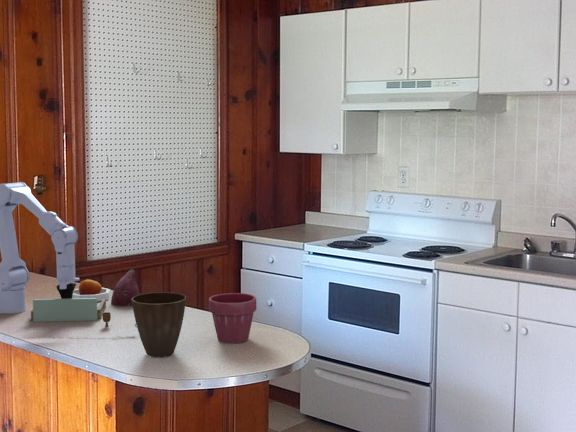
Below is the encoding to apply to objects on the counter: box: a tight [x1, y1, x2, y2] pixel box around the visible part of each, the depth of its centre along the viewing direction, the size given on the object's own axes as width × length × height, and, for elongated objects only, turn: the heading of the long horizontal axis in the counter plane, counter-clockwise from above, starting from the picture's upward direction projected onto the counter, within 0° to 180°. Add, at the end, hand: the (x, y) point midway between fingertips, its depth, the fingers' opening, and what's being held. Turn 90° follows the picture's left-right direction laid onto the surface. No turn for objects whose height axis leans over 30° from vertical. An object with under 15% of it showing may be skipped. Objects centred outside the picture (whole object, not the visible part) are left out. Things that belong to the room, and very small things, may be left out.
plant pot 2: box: [208, 292, 258, 344], centre depth 233 cm, size 14×14×13 cm
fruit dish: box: [72, 287, 111, 303], centre depth 287 cm, size 14×14×2 cm
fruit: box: [78, 278, 103, 295], centre depth 287 cm, size 8×8×8 cm
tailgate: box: [32, 298, 98, 323], centre depth 250 cm, size 20×1×7 cm, turn 97°
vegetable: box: [110, 268, 141, 307], centre depth 275 cm, size 10×10×15 cm
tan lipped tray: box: [30, 299, 107, 322], centre depth 259 cm, size 22×16×4 cm
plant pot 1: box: [132, 291, 187, 358], centre depth 219 cm, size 15×15×16 cm
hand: (67, 306), depth 253 cm, fingers closed
